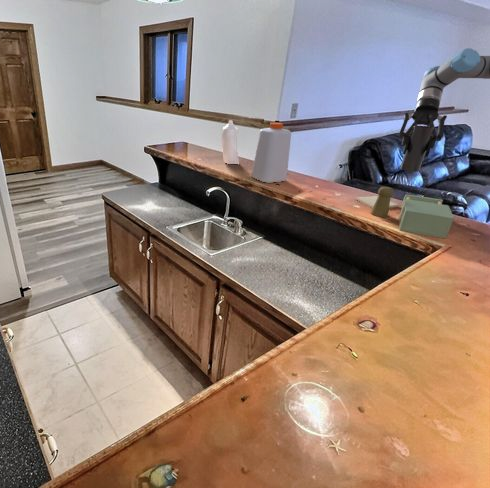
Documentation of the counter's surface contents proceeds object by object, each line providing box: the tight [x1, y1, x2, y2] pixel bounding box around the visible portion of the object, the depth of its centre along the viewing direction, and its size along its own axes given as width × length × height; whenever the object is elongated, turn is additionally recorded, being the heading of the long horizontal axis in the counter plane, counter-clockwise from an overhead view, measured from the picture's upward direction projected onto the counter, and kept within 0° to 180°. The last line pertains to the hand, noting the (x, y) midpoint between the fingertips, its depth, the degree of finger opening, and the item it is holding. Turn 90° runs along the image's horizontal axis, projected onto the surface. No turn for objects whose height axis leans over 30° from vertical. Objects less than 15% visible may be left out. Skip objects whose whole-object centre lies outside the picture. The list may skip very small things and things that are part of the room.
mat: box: [354, 195, 400, 209], centre depth 151 cm, size 12×12×1 cm
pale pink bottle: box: [221, 119, 240, 165], centre depth 207 cm, size 12×11×25 cm
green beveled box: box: [398, 199, 455, 240], centre depth 126 cm, size 15×14×8 cm
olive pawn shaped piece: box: [370, 186, 395, 218], centre depth 137 cm, size 6×6×11 cm
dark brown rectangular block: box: [399, 125, 434, 173], centre depth 133 cm, size 6×6×16 cm
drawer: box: [400, 193, 444, 209], centre depth 136 cm, size 18×12×6 cm
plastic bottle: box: [251, 122, 292, 184], centre depth 176 cm, size 15×15×28 cm
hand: (415, 153), depth 131 cm, fingers closed on dark brown rectangular block, 6 cm apart
